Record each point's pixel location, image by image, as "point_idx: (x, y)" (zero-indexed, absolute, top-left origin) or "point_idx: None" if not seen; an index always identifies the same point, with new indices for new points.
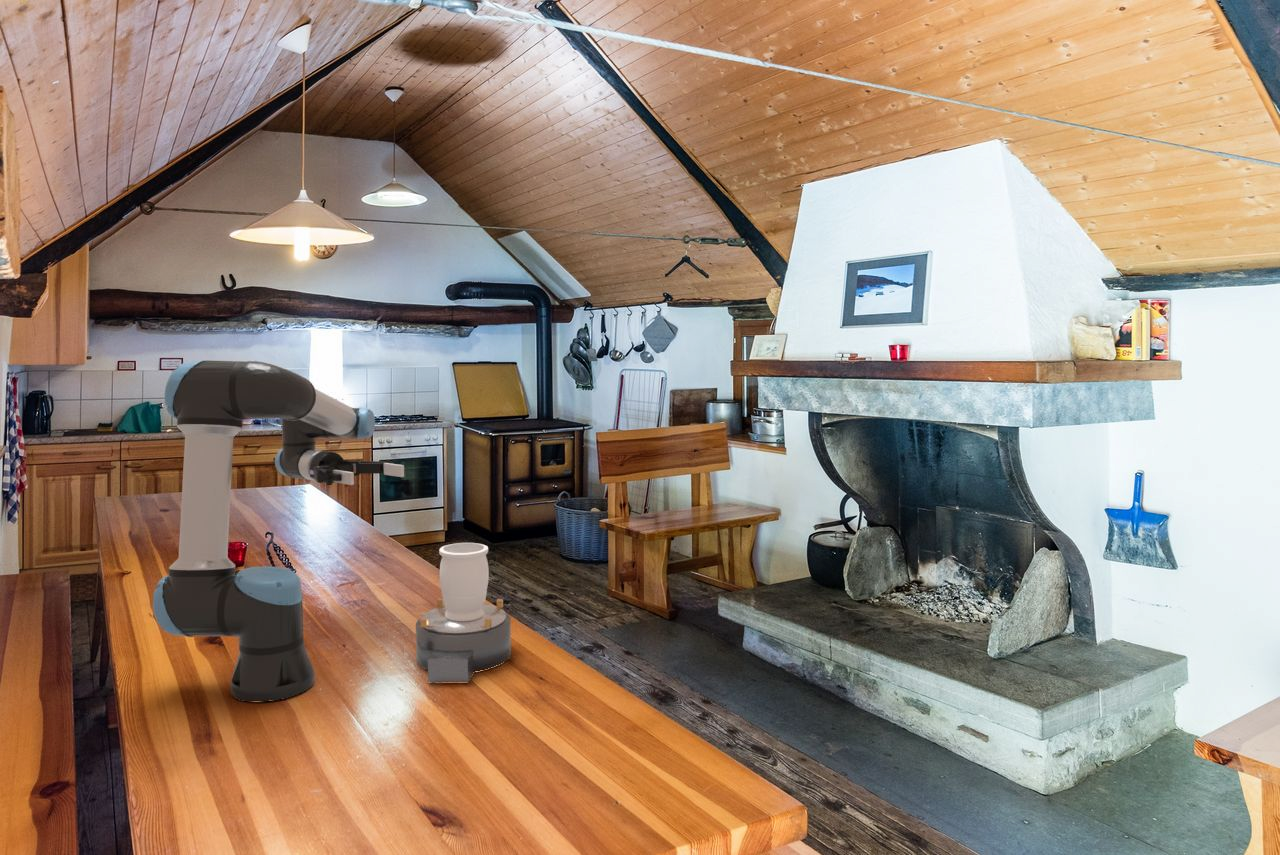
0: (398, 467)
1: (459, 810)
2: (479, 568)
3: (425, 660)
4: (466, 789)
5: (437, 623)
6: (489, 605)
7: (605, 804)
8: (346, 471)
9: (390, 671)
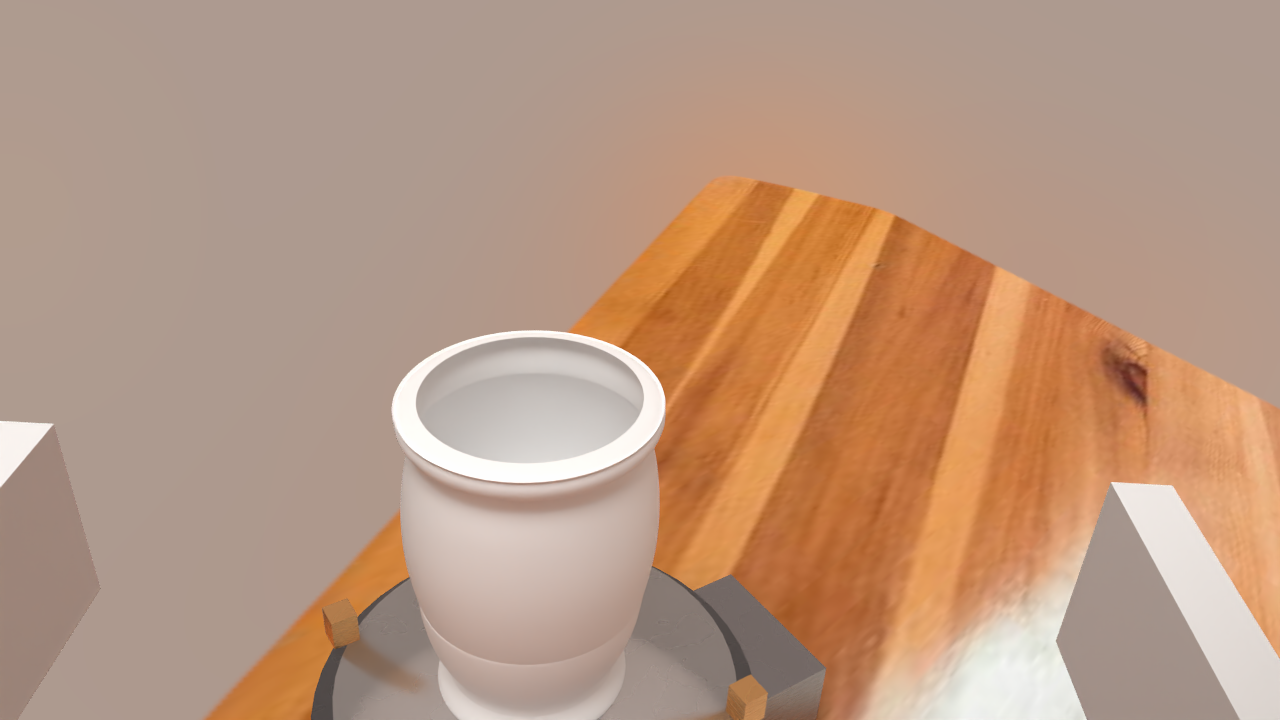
0: (20, 511)
1: (1090, 367)
2: (551, 400)
3: None
4: (1048, 387)
5: (681, 697)
6: (343, 680)
7: (894, 271)
8: (1198, 635)
9: None
